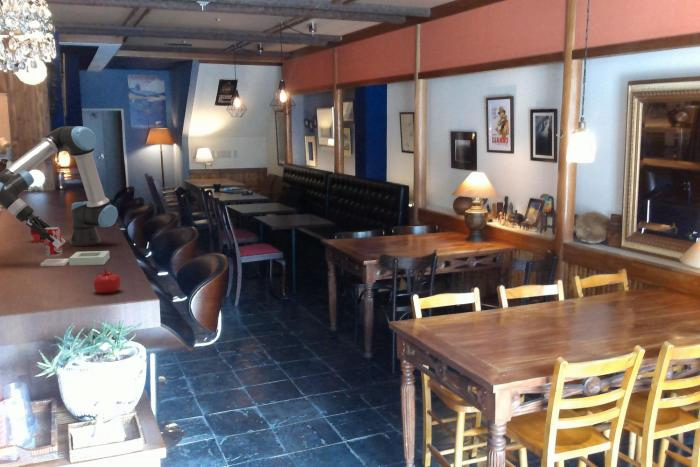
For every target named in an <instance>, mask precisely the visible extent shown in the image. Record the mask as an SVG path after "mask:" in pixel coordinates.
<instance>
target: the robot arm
mask: <svg viewBox="0 0 700 467" xmlns="http://www.w3.org/2000/svg"><path fill="white" fill-rule="evenodd" d="M96 143H97V137H96V135H95V133H94V131H93V130H92V129H90V128H89V127H87V126H80V125H75V126H72V125H71V126H66V125H65V126H60V127H58V128H56V129H54V130H52V131H51V132H49V133H48V134H46V135H44V137H42V138H41V140H40V142H39V143H37V144H36V145H35V146H34V147H32V148H31V149H30V150H28V151H27V152H25V153H24V154H23V155H22V156H21V157H19V158H18V159H16V160H15V161H14V162H13V163H11V164H9V165H8V166H6V167H5V168H4V169H3V170H2V171H0V206H2V207H3V208H4V209H5V210H7V211H8V213H9V214H11V215H12V216H14V217H15V218H16V219H17V220H18V221H19V222H21V223H23V222H25V221H26V223H25V224H26V226H28V227H29V228H30V227H31V228H32V229H33V230H34V231H35V232H36V233H37V234H38V235H40V236H41V237H42V238H43V239H44V240H45V239H46V238H47V240H48V241H49V242H51V243H52V244H53V245H54V246H55V247H56V248H57V249H58V248H59V247H60V246H61V245H62V246H63V245H64V244H65V243H66V240H65V239H64V238H62V237H61V242H62V244H61V243H60V242H59V241H58V240H57V239H55V238H54V237H53V236H51V235H50V236H49V233H47V231H46V230H45V228H48V227H51V226H50V224H49V223H47V222H46V221H45V222H46V223H45V222H44V220H43V219H42V218H41V217H40V216H39V215H37V216H36V215H35V214H33V213H34V212H35V210H34V209H33V208H32V207H31V206H30V205H27V203H26V202H25V201H24V200H23V199H21V197H19V195H20V194H22V193H23V192H25V191H26V190H28V188H30V187H31V186H32V185H33V184H34V182H35V179H34V177H33V174H31V173H30V171H32V170H33V169H34V168H36V167H37V166H39V165H40V164H41V163H43V162H44V161H45V160H46V159H48V158H49V157H50V156H51V155H56V154H58V153H59V152H61V151H64V150H68V151H69V154H70V156H71V157H72V158H74V160H75V163H76V165H77V169H78V172H79V174H80V175H79V176H80V178H81V182H82V185H83V187H84V191H85V194H86V198H87V200H85V201H79V202H78V201H77V202H73V203H72V204H71V210H70V212H71V222H72V224H71V225H72V232H71V236H70V240H69V242H70V243H69V244H70V245H71V246H74V247H75V246H76V247H85V246H93V245H94V246H96V245H99V244H101V238H100V234H99V232H98V231H97V227H101V228H107V227H108V228H109V227H112V226H113V225H114V224H115V223H116V222H117V219H118V217H119V212H118V209H117V207H116V206H114V205H113V204H111V201H110V198H108V197H106V195H105V192H104V188H103V185H102V182H101V178H100V175H99V172H98V169H97V164H96V160H95V159H94V155H93V154H94V152H95V147H96Z"/></svg>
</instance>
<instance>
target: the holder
mask: <svg viewBox="0 0 700 467" xmlns="http://www.w3.org/2000/svg"><path fill="white" fill-rule="evenodd" d="M68 259H69V262H68V263H69V267H71V266H72V267H73V266H96V265H101V266H102V265H105V264H106V263H107V262H108V261H109V259H111V258H110V250H100V251H99V250H98V251H96V250H95V251H94V250H93V251H89V250H88V251H75V253H73V254H72V255H70V256H69V257H68Z"/></svg>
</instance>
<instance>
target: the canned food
mask: <svg viewBox="0 0 700 467" xmlns="http://www.w3.org/2000/svg"><path fill="white" fill-rule="evenodd" d="M43 221H44V220H43ZM44 222H45V223H47V222H46V221H44ZM29 228H30V238H31V239H30V240H31V243H33V242H43V243H45V242H44V239H43V238H42V237H41V236H40V235H38V234H37V233H36V232H35V231H34V230H33V229H32V228H31V227H29Z"/></svg>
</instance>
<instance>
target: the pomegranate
mask: <svg viewBox="0 0 700 467" xmlns="http://www.w3.org/2000/svg"><path fill="white" fill-rule="evenodd" d="M103 271H104V273H103V272H97V274H98V275H97V276H95V278H94V280H93V283H92V284H93V288H94V290H95V292H96V293H97V294H101V295H102V294H103V295H104V294H113V293H115V292H117V291H119V289H120V288H121V283H122V282H121V281H122V279H121V277H120V276H119V275H118V274H117V273H115V272H116V271H113V270H112V271H109V272H108V270H107V268H104V269H103Z"/></svg>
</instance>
